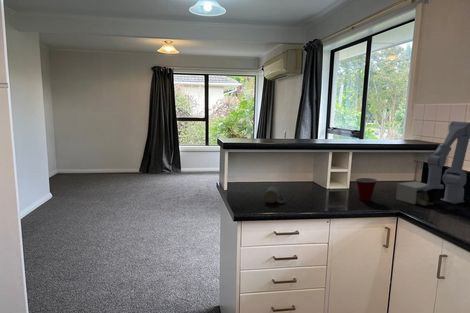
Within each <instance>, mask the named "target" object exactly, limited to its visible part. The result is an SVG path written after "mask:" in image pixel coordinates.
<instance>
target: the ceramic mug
mask: <svg viewBox="0 0 470 313" xmlns="http://www.w3.org/2000/svg"><path fill="white" fill-rule="evenodd" d="M263 197H264V200H265V201H266V203H268V204H275V203H279V204H281V203H283V204H284V203H285V202H286V199H285V198H284V197H283V196H281V190H280V188H278V187H277V186H269V187H268V188H267V190H266V191H265V193H264V196H263Z"/></svg>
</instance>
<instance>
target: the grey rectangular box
mask: <svg viewBox="0 0 470 313" xmlns="http://www.w3.org/2000/svg"><path fill="white" fill-rule="evenodd" d="M426 185H427V183H424V182H419V181H409V182H408V181H407V182H398V183H397V185H396V197H395V200H398V201H400V202H401V201H402V202H405V203H409V204H412V205H416V204H417V203H416V195H417V191H418V190H420V191H422V192H426V191H424V190H423V187H424V186H426ZM427 198H428V195H427Z"/></svg>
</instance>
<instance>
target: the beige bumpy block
mask: <svg viewBox="0 0 470 313" xmlns="http://www.w3.org/2000/svg"><path fill="white" fill-rule="evenodd" d="M416 204H419V205H421V206H430V205H434V204H435V202H434V203H430V202H429V199H428V198H427V192H422V191H420V190H418V191H417V195H416Z"/></svg>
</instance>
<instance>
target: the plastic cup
mask: <svg viewBox="0 0 470 313" xmlns="http://www.w3.org/2000/svg"><path fill="white" fill-rule="evenodd" d="M355 181H356V183H357V192H358V198H359V201H362V202H365V203H367V202H371V200H372V197H373V194H374V191H375V186H376V182H378V180H377V179H376V178H372V177H371V178H369V177H367V178H366V177H361V178H360V177H359V178H356V179H355Z"/></svg>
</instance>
